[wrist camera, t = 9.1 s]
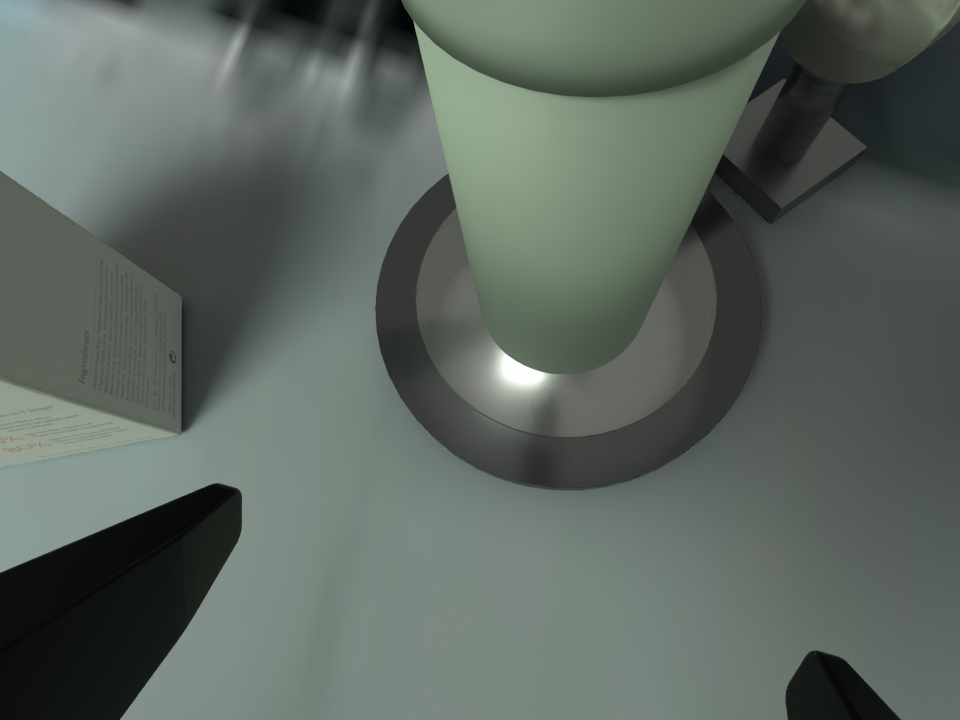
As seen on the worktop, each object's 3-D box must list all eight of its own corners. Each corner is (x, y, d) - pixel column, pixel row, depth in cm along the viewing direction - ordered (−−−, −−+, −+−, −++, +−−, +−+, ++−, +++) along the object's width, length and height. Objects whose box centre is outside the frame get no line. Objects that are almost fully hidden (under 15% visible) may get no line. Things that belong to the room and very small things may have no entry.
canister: (522, 409, 18) (494, 123, 6) (447, 261, 20) (311, -184, 8) (686, 330, 19) (974, -92, 6) (597, 192, 21) (689, -339, 8)
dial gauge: (766, 91, 23) (941, -257, 13) (860, 172, 21) (1138, -152, 12) (687, 145, 22) (806, -174, 13) (778, 231, 21) (994, -53, 11)
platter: (473, 560, 18) (468, 561, 17) (332, 239, 23) (321, 221, 21) (830, 383, 19) (850, 371, 18) (630, 103, 23) (635, 78, 22)
